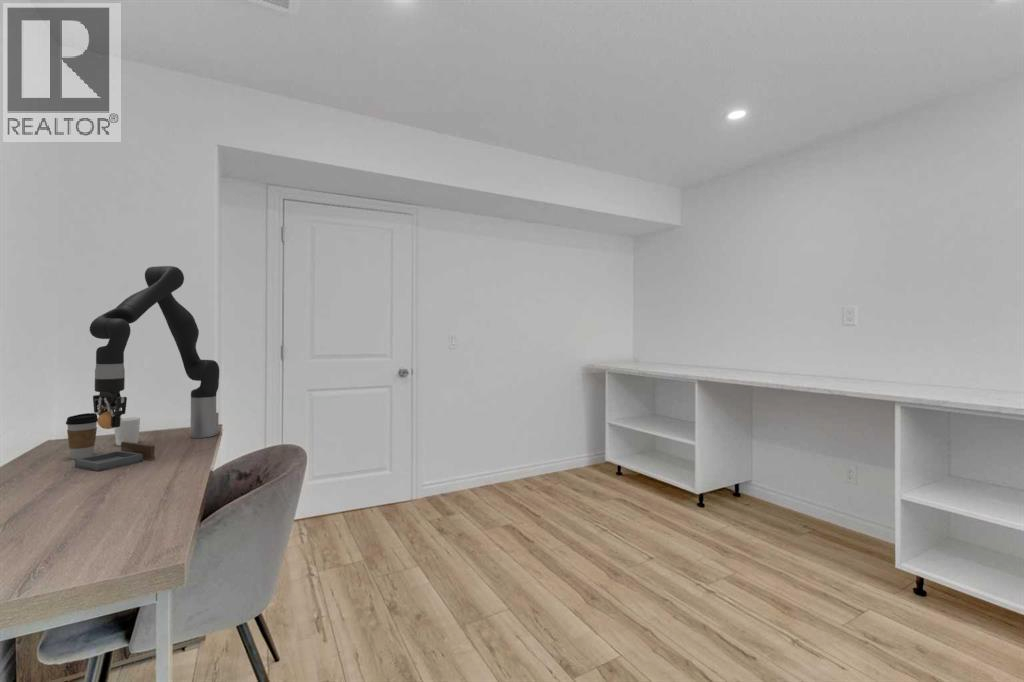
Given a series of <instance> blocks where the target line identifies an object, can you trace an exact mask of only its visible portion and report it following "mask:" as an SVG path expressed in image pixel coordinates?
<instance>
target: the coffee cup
mask: <svg viewBox="0 0 1024 682" xmlns="http://www.w3.org/2000/svg"><path fill="white" fill-rule="evenodd" d="M65 424H66V426H67V430H66V432H67V440H68V441H67V442H68V447H69V448H68V449H69V455H70V459H72V460H75V459H80V458H85V457H90V456H95V453H94V452H95V446H96V445H95V444H96V438H97V437H96V436H97V432H98V431H97V430H98V429H97V428H98V427H97V425H98V414H97V413H94V412H91V413H90V412H87V413H79V414H76V415H71V416H68V417H67V419H66V421H65Z"/></svg>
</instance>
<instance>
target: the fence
mask: <svg viewBox="0 0 1024 682" xmlns="http://www.w3.org/2000/svg"><path fill="white" fill-rule="evenodd" d="M155 449H156V448H155V445H154V444H153V445H152V444H147V443H140V442H138V443H133V442H126V441H124V442H121V446H120V451H126V452H132V453H139V454H143V456H142V460H144V461H145V460H146V461H155V460H156V459H155V457H156V456H155V452H156V451H155Z"/></svg>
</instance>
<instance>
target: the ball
mask: <svg viewBox="0 0 1024 682" xmlns="http://www.w3.org/2000/svg"><path fill="white" fill-rule="evenodd" d="M111 417H112V416H111V412H110V411H107V412H104V413H102V414H101V415H100V416H99V415H98V416H97V418H98V422H97V425H98V426H99V427H100V428H102V429H106V430H109V429H110V430H111V429H113V428H112V427H111ZM121 418H122V415H121V416H120V422H121Z"/></svg>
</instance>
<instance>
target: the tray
mask: <svg viewBox="0 0 1024 682" xmlns="http://www.w3.org/2000/svg"><path fill="white" fill-rule="evenodd" d="M142 456H143V454H139V453H132V452H126V451H121V450H115V451H111V452H105V453H99V454H96V455H95V454H94V455H93V456H90V457H85V458H80V459H74V468H78V469H84V470H89V471H94V472H102V471H106V470H107V471H108V470H111V469H115V468H119V467H122V466H127V465H128V466H129V465H132V464H136V463H140V462H143V459H142Z"/></svg>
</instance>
